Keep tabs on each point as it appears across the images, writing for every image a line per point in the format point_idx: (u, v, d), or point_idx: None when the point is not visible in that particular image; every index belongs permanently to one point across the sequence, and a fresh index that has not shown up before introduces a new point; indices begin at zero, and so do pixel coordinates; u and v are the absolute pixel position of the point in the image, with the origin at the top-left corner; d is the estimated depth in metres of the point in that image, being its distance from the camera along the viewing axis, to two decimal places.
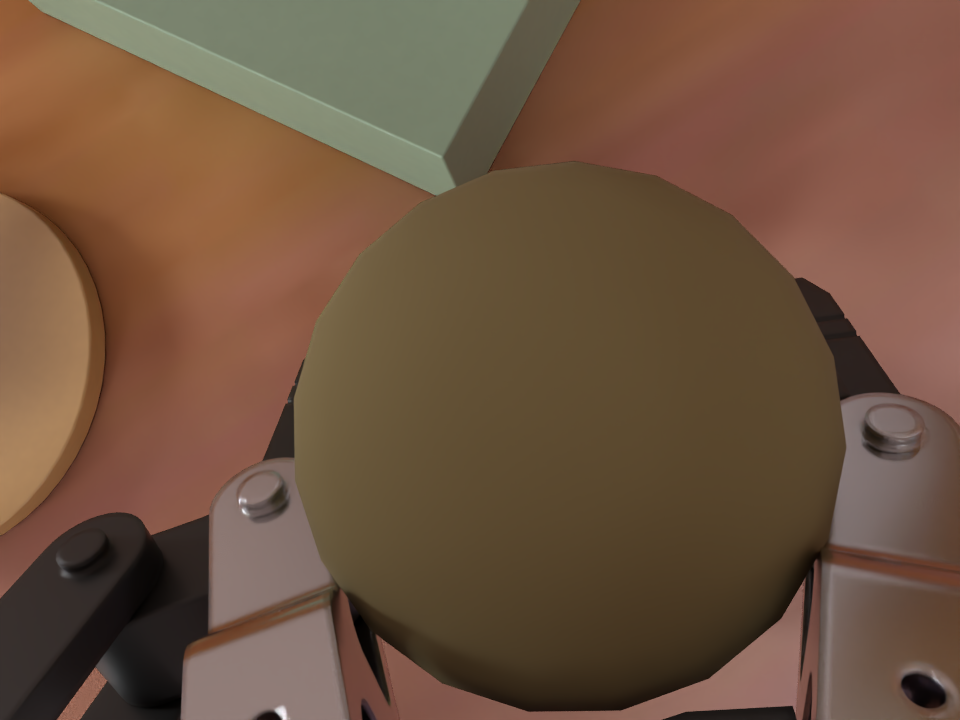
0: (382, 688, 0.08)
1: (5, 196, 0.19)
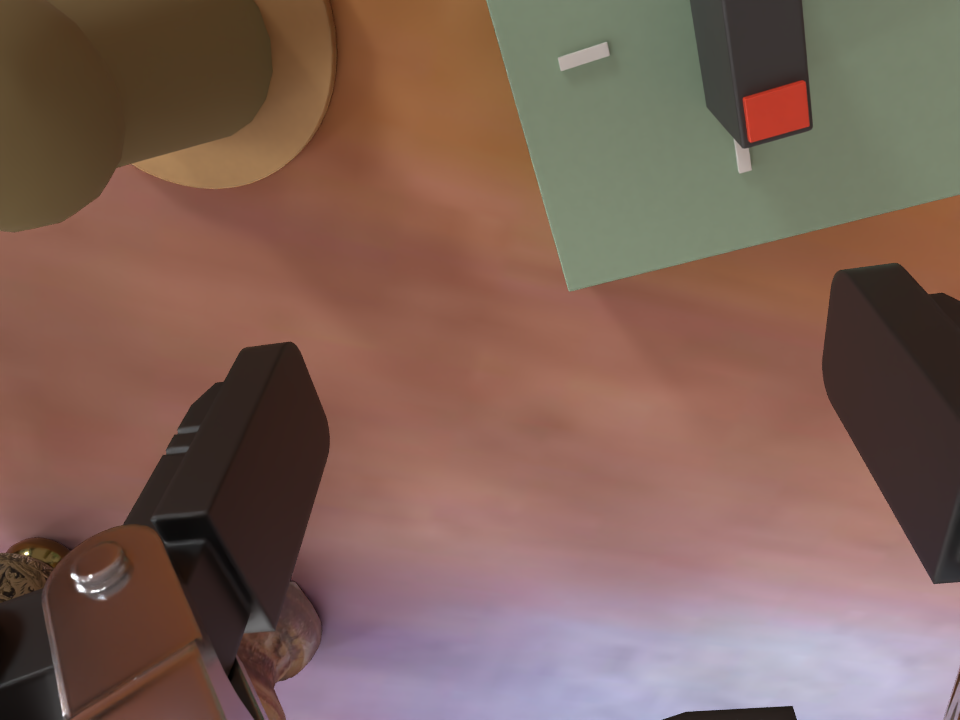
0: None
1: None
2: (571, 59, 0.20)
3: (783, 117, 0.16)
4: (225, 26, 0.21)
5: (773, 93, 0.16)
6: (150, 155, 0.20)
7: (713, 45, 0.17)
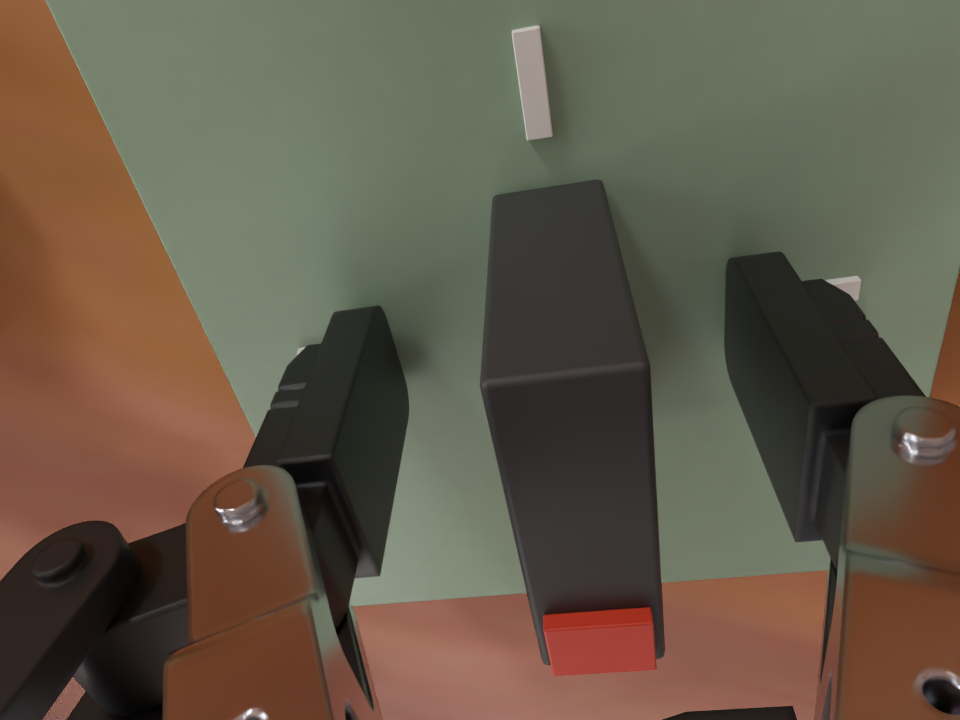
0: (365, 693, 0.08)
1: None
2: None
3: (611, 656, 0.09)
4: None
5: (594, 631, 0.08)
6: None
7: None
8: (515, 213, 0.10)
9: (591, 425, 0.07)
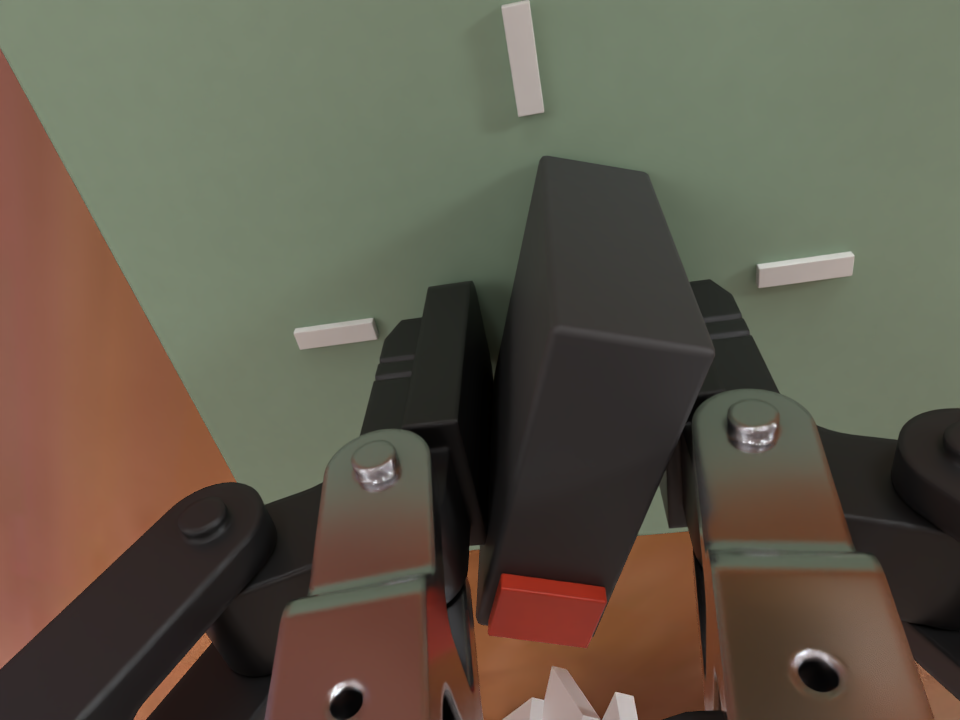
0: (467, 673, 0.08)
1: None
2: (522, 33, 0.09)
3: (552, 626, 0.09)
4: None
5: (550, 599, 0.09)
6: None
7: (505, 415, 0.10)
8: (567, 179, 0.10)
9: (638, 396, 0.07)
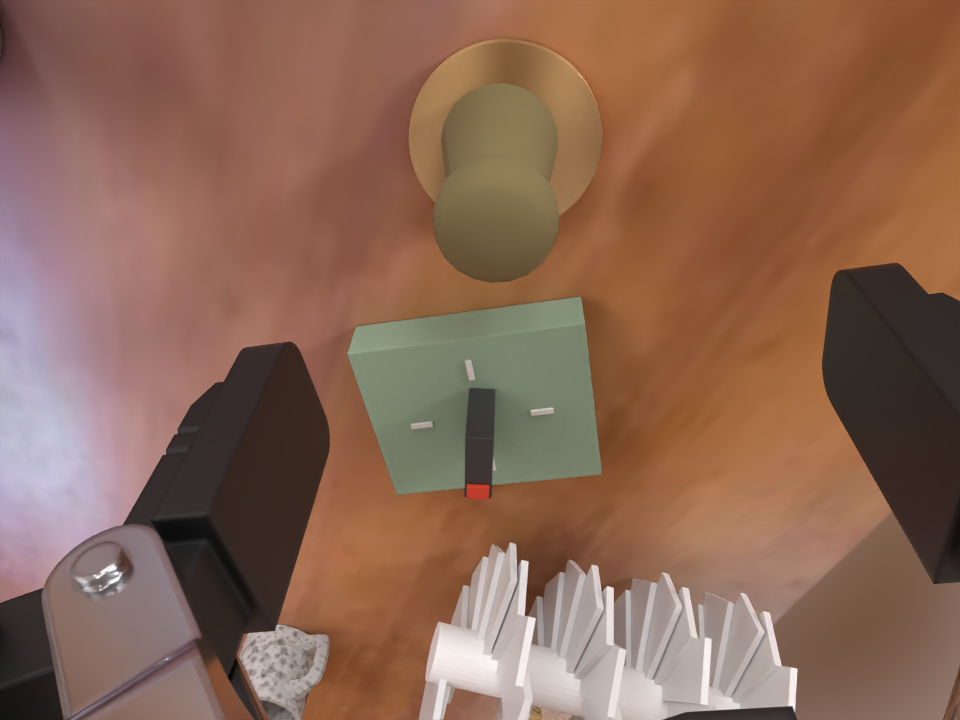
0: None
1: None
2: (469, 366, 0.42)
3: (479, 494, 0.42)
4: None
5: (477, 488, 0.41)
6: None
7: None
8: (474, 396, 0.43)
9: (483, 447, 0.40)
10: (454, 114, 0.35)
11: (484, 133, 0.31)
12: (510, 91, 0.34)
